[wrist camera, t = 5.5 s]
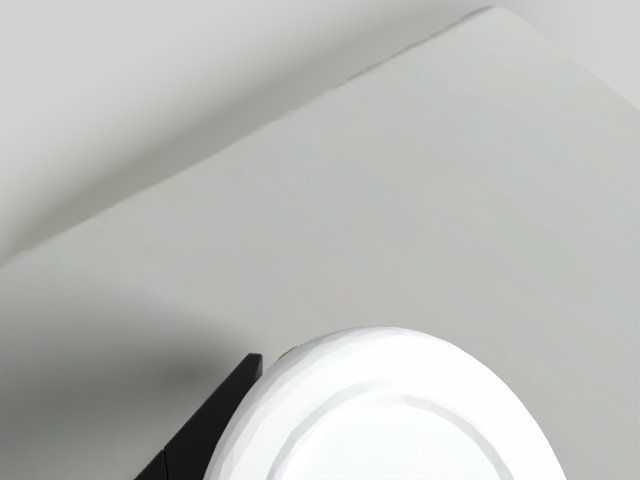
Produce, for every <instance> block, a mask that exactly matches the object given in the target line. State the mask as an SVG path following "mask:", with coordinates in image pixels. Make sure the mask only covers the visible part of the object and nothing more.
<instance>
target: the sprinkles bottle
mask: <svg viewBox="0 0 640 480" xmlns="http://www.w3.org/2000/svg"><path fill="white" fill-rule="evenodd" d="M203 480H566V479H565V476H564V474H563V471H562V469H561V467H560V465H559V463H558V461H557V459H556V457H555V455H554V453H553V451H552V449H551V447H550V445H549V443H548V441H547V440H546V438H545V436H544V434H543V433H542V431H541V430H540V428H539V426H538V425H537V423H536V422H535V420H534V419H533V418H532V416H531V415H530V414H529V412H528V411H527V410H526V408H525V407H524V406H523V404H522V403H521V402H520V400H519V399H518V398H517V397H516V396H515V395H514V393H513V392H512V391H511V390H510V389H509V388H508V387H507V386H506V385H505V384H504V383H503V382H502V381H501V380H500V379H499V378H498V377H497V376H496V375H495V374H494V373H493V372H492V371H491V370H489V369H488V368H487V367H485V366H484V365H483V364H481V363H480V362H478V361H477V360H476V359H474V358H473V357H472V356H470V355H469V354H467V353H466V352H464V351H462V350H461V349H459V348H458V347H456V346H454V345H452V344H451V343H449V342H447V341H444V340H441V339H439V338H436V337H434V336H431V335H428V334H425V333H422V332H418V331H414V330H409V329H405V328H399V327H390V326H368V327H359V328H351V329H346V330H342V331H337V332H333V333H329V334H327V335H324V336H321V337H318V338H315V339H313V340H310V341H308V342H306V343H304V344H302V345H300V346H297V347H294V348H292V349H290V350H289V351H288V352H286V353H284V354H283V355H282V356H281V357H280V358H279V359H278V360H277V361H276V362H275V363H274V364H273V365H272V366H271V367H270V368H269V369H268V370H267V371H266V372H265V373H264V374H263V375H262V376H261V377H260V378H259V380H258V381H257V382H256V383H255V384H254V385H253V386H252V388H251V389H250V390H249V392H248V393H247V394H246V396H245V397H244V399H243V400H242V402H241V403H240V405H239V406H238V408H237V410H236V411H235V413H234V414H233V416H232V418H231V420H230V421H229V423H228V425H227V427H226V429H225V430H224V432H223V434H222V436H221V438H220V440H219V441H218V443H217V446H216V448H215V451H214V453H213V455H212V458H211V460H210V463H209V465H208V468H207V470H206V473H205V476H204V479H203Z"/></svg>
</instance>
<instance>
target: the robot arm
mask: <svg viewBox="0 0 640 480" xmlns="http://www.w3.org/2000/svg"><path fill="white" fill-rule="evenodd" d="M262 361H263V357H262V355H261V354H257V353H249V354H248V355H247V356H246V357H245V358H244V359H243V360H242V361H241V363H240V364H239V365H238V366H237V367H236V368H235V369H234V370H233V371H232V372H231V374H230V375H229V376H228V377H227V378H226V379H225V380H224V381H223V382H222V384H221V385H220V386H219V387H218V388H217V389H216V390H215V391H214V392H213V394H212V395H211V396H210V397H209V398H208V399H207V400H206V401H205V402H204V404H203V405H202V406H201V407H200V408H199V409H198V410H197V411H196V412H195V414H194V415H193V416H192V417H191V418H190V419H189V420H188V421H187V422H186V423H185V425H184V426H183V427H182V428H181V429H180V430H179V431H178V432H177V433H176V435H175V436H174V437H173V438H172V439H171V440H170V441H169V442H168V443H167V445H166V446H165V447H164V450H161V451H160V452H159V453H158V454H157V455H156V457H155V458H154V459H153V460H152V461H151V462H150V463H149V464H148V465H147V466H146V468H145V469H144V470H143V471H142V472H141V473H140V474H139V475H138V476H137V477H136V478H135V479H134V480H203V479H204V476H205V473H206V470H207V468H208V465H209V463H210V460H211V458H212V455H213V453H214V451H215V448H216V446H217V443H218V441H219V440H220V438H221V436H222V434H223V432H224V430H225V429H226V427H227V425H228V423H229V421H230V420H231V418H232V416H233V414H234V413H235V411H236V410H237V408H238V406H239V405H240V403H241V402H242V400H243V399H244V397H245V396H246V394H247V393H248V392H249V390H250V389H251V388H252V386H253V385H254V384H255V383H256V382H257V381H258V380H259V378H260V377H261V376H262Z"/></svg>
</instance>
